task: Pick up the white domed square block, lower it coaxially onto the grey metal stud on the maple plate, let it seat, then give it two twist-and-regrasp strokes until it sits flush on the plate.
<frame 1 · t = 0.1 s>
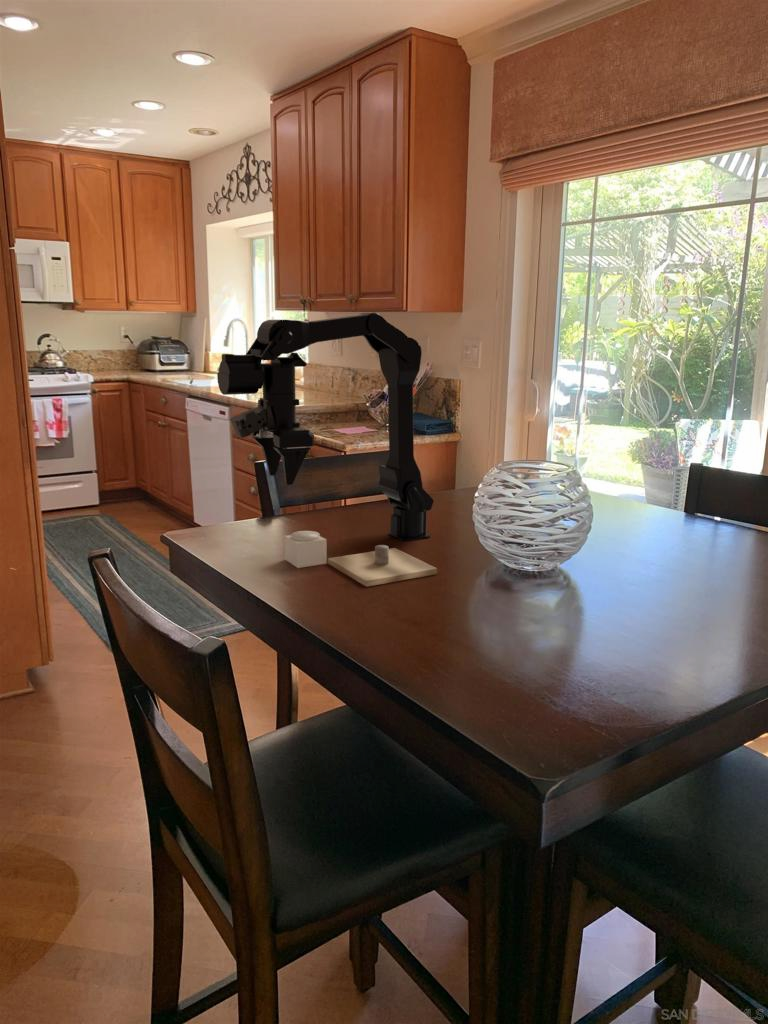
hand: (280, 479, 136), 14 cm above the table, fingers open, 9 cm apart
white domed square block: (305, 561, 136), on the table
stud plate: (381, 568, 133), on the table
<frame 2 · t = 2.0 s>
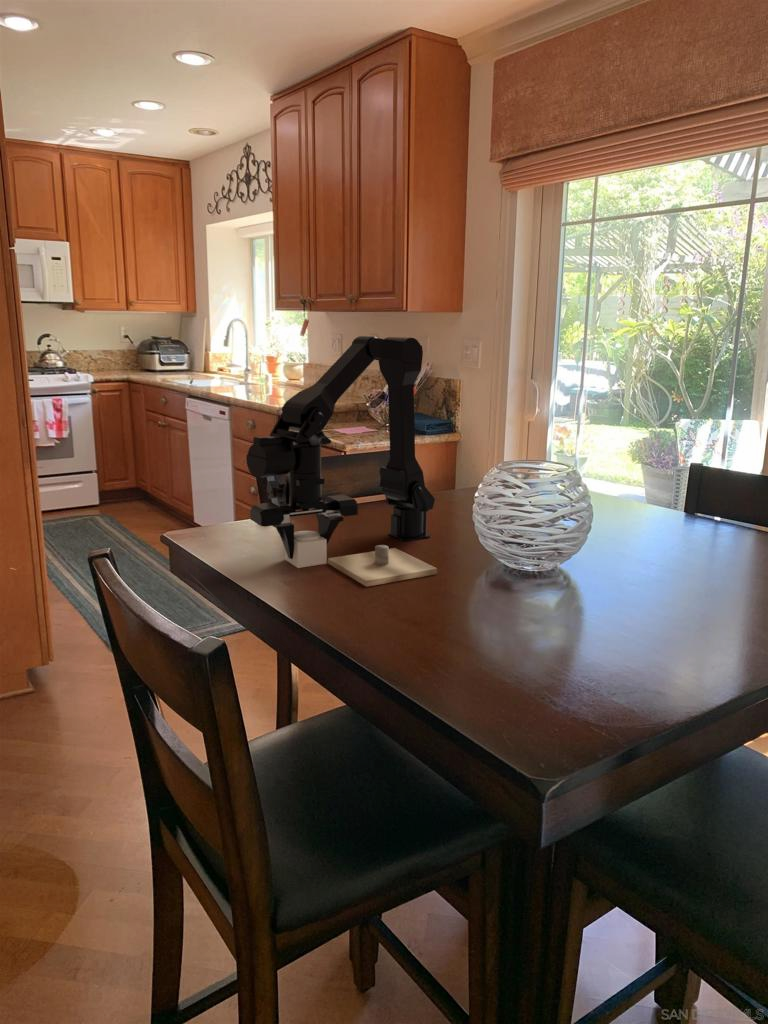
hand: (305, 556, 136), 1 cm above the table, fingers closed on white domed square block, 6 cm apart
white domed square block: (305, 561, 136), on the table, touching gripper
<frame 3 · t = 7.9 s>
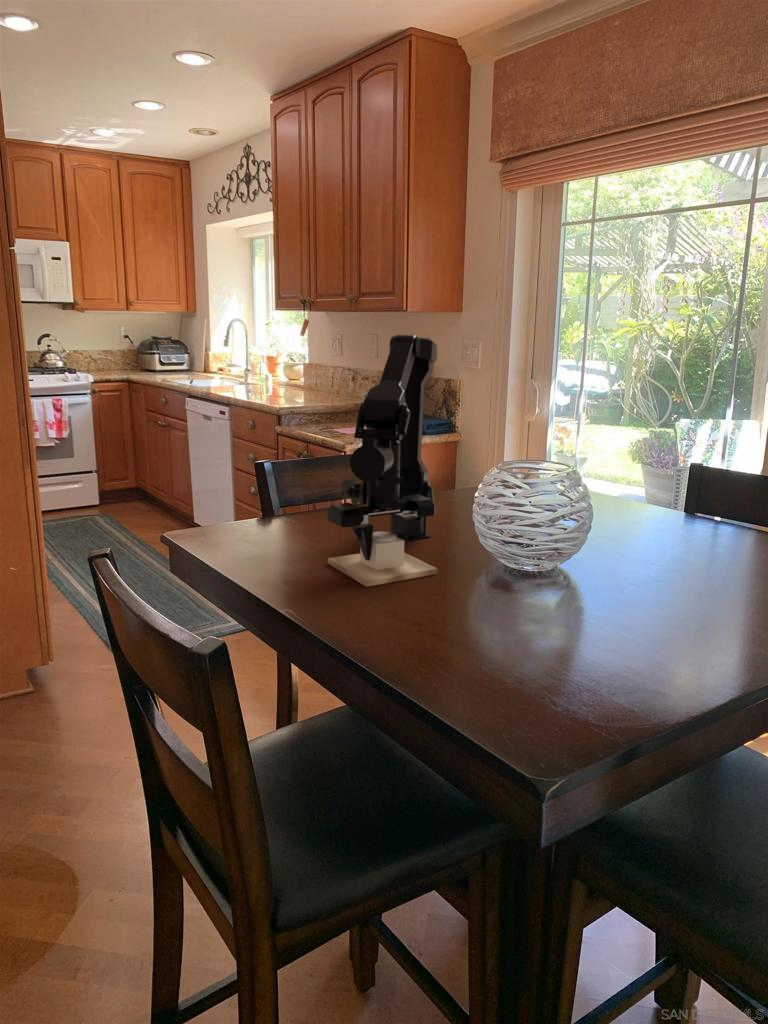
hand: (381, 557, 132), 2 cm above the table, fingers closed on white domed square block, 6 cm apart
white domed square block: (381, 563, 132), point 1 cm above the table, touching gripper, stud plate
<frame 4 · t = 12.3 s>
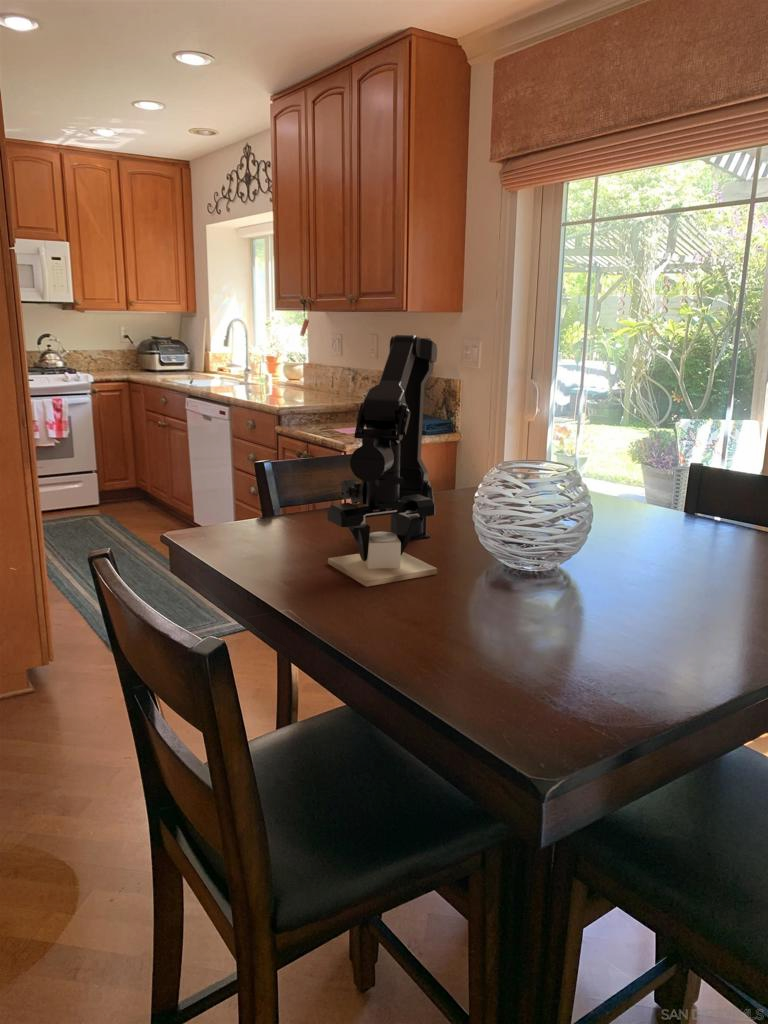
hand: (381, 557, 132), 2 cm above the table, fingers closed on white domed square block, 7 cm apart
white domed square block: (381, 563, 133), point 1 cm above the table, touching gripper, stud plate
when the fingers open (2 cm above the table, at t = 13.6 s): white domed square block stays where it is, resting on stud plate.
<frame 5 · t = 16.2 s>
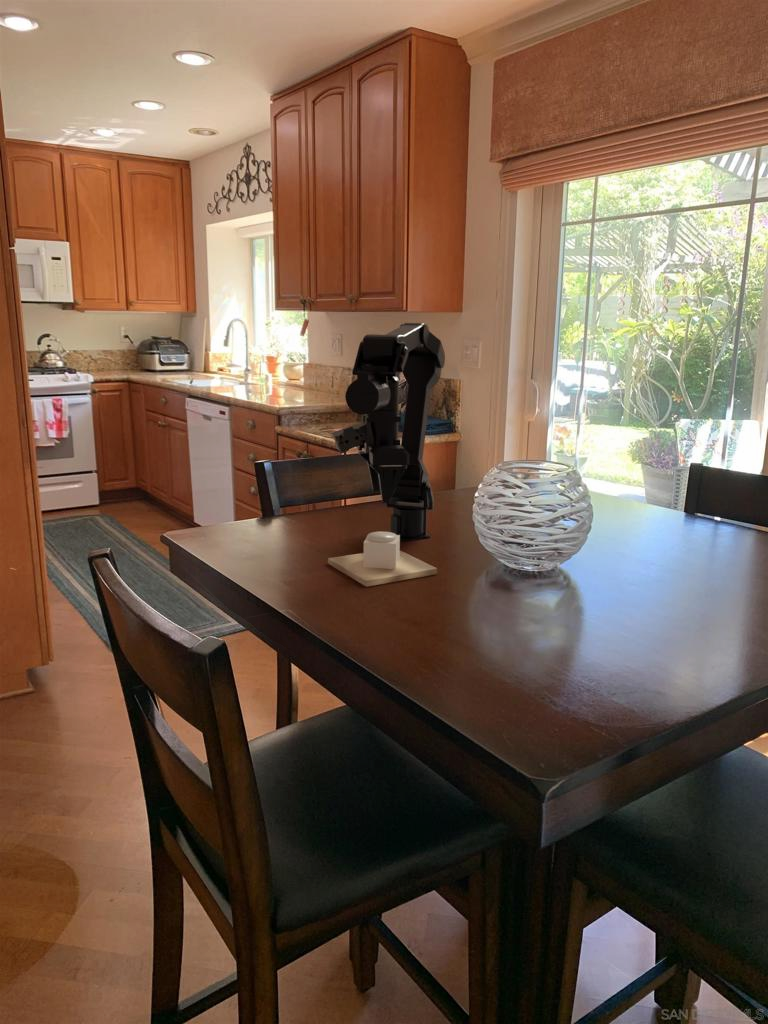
hand: (380, 496, 134), 12 cm above the table, fingers open, 9 cm apart
white domed square block: (381, 563, 133), point 1 cm above the table, touching stud plate
at the end: white domed square block 0.0 cm off-centre on the stud plate, point 1.0 cm above the stud plate's base; white domed square block tilted 0°; the gripper is holding nothing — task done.
